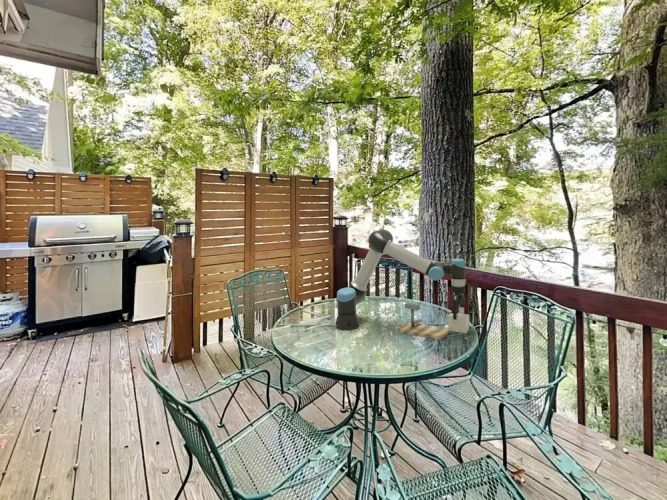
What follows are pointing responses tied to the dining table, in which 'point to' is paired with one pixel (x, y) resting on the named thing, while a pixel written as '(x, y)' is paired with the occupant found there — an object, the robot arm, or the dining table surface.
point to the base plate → (424, 331)
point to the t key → (413, 307)
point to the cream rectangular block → (462, 323)
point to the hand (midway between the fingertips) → (458, 321)
